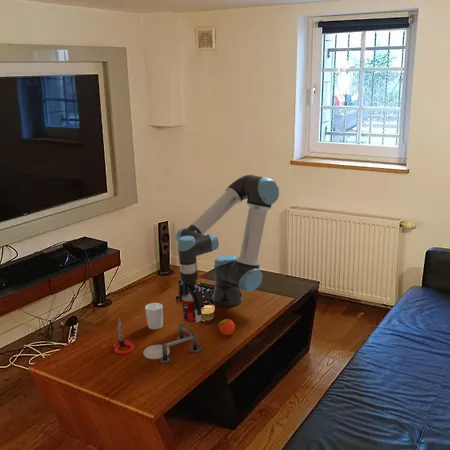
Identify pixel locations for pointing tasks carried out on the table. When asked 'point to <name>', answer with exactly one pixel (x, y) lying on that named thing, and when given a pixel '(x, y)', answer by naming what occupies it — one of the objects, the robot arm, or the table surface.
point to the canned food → (188, 308)
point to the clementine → (227, 327)
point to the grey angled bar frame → (180, 339)
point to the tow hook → (122, 342)
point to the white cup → (154, 315)
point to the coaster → (154, 352)
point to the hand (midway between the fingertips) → (192, 318)
